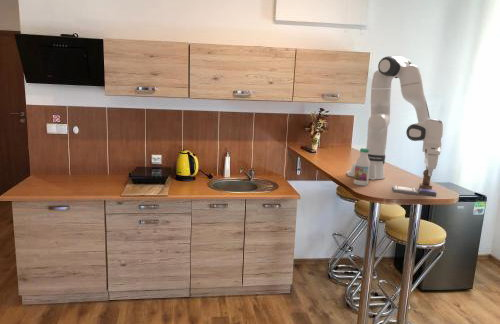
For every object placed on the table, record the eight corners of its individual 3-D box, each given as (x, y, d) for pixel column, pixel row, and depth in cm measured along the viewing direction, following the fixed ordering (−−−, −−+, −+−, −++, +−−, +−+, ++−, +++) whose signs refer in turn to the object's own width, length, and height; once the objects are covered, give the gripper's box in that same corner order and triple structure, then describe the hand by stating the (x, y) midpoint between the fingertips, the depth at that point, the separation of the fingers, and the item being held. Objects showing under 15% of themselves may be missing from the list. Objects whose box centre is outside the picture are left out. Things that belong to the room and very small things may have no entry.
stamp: (419, 190, 215) (422, 169, 212) (418, 188, 219) (421, 168, 216) (431, 191, 213) (434, 171, 211) (430, 189, 217) (433, 169, 215)
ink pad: (419, 194, 206) (419, 190, 205) (418, 191, 211) (418, 187, 211) (436, 196, 203) (436, 192, 203) (434, 193, 209) (435, 189, 209)
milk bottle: (357, 181, 225) (361, 147, 221) (370, 184, 220) (374, 149, 217) (351, 183, 220) (355, 148, 216) (364, 186, 215) (368, 150, 211)
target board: (393, 191, 208) (393, 189, 207) (392, 187, 217) (392, 184, 217) (417, 194, 204) (418, 192, 204) (415, 190, 214) (416, 187, 213)
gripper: (423, 146, 222) (420, 170, 224) (427, 151, 202) (424, 177, 205) (435, 146, 220) (432, 171, 222) (440, 152, 201) (437, 178, 203)
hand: (428, 174), depth 214 cm, fingers open, 8 cm apart
